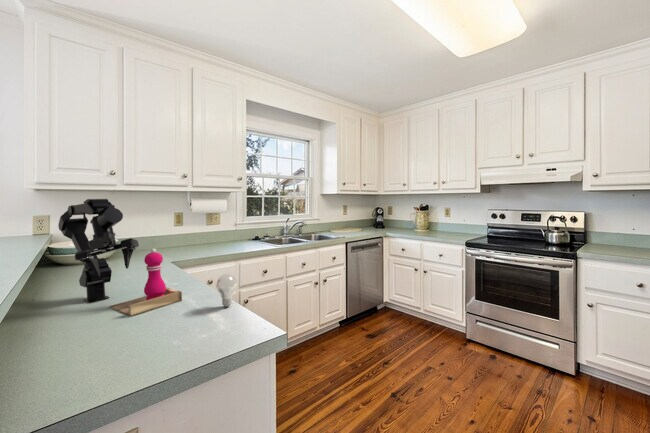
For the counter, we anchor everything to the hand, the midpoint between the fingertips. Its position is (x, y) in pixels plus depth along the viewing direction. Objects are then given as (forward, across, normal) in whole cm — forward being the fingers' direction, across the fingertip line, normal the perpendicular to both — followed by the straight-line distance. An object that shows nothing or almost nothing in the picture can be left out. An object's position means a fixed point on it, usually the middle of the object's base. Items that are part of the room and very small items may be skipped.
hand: (113, 272), depth 110 cm
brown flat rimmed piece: (+14, +7, +3) cm, 16 cm away
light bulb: (+24, +35, -7) cm, 43 cm away
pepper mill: (+14, +10, +4) cm, 18 cm away
